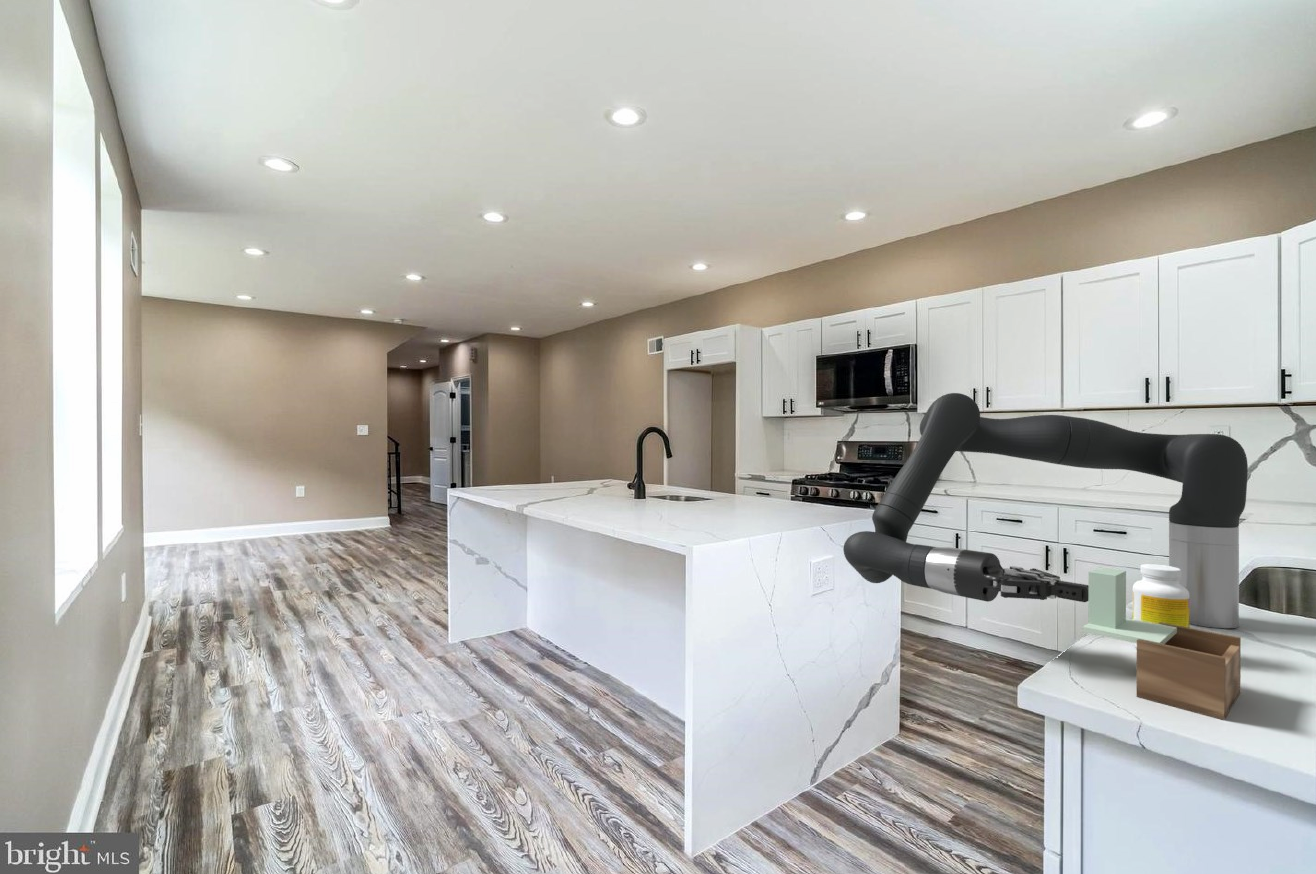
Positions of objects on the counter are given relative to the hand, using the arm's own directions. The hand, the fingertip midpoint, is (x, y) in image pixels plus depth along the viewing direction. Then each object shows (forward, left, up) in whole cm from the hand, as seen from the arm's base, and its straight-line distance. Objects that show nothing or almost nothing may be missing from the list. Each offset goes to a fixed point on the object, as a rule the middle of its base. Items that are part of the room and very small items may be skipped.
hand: (1089, 594), depth 84 cm
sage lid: (0, +5, -4) cm, 6 cm away
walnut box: (0, +11, -10) cm, 15 cm away
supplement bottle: (-17, +5, -11) cm, 21 cm away
